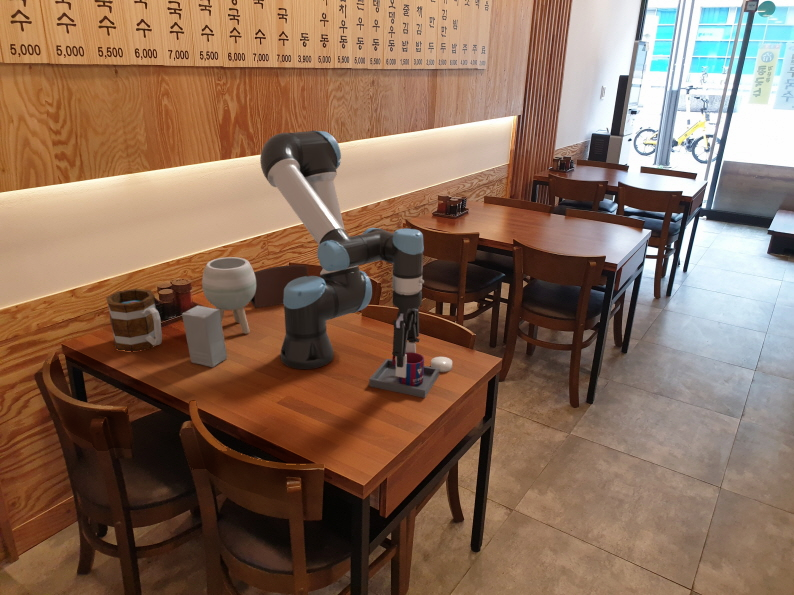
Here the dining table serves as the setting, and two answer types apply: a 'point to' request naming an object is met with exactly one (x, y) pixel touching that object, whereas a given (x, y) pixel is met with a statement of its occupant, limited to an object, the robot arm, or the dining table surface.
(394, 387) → the tray
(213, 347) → the skincare box
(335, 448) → the dining table surface
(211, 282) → the planter
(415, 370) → the cup
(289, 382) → the dining table surface
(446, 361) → the white rounded flat piece
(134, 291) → the mug
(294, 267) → the letter holder
